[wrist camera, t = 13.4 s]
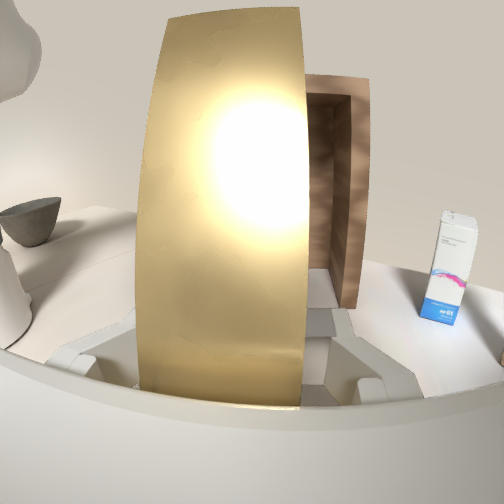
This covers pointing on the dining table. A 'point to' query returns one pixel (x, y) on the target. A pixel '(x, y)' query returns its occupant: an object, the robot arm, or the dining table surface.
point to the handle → (503, 356)
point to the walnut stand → (338, 178)
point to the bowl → (31, 220)
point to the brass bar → (225, 211)
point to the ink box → (450, 267)
